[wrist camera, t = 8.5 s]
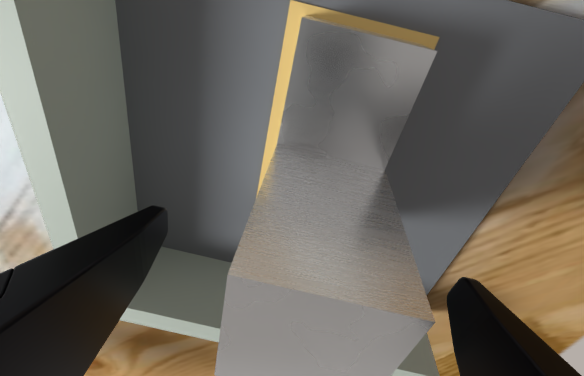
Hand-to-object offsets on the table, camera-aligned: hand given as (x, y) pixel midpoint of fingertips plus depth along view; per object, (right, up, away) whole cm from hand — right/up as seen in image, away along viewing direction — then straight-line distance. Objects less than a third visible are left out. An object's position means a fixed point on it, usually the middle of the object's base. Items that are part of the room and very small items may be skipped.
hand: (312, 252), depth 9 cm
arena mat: (0, +3, +5) cm, 6 cm away
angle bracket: (+1, +4, +3) cm, 5 cm away
